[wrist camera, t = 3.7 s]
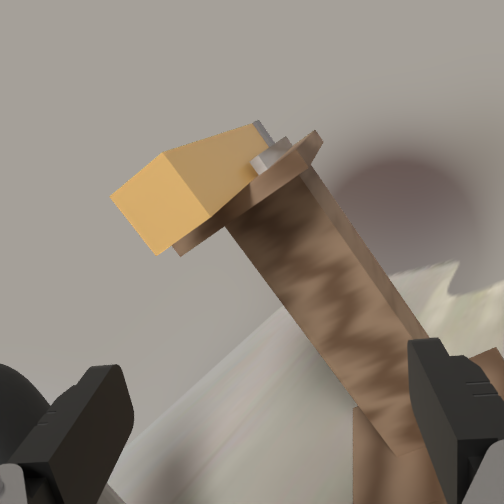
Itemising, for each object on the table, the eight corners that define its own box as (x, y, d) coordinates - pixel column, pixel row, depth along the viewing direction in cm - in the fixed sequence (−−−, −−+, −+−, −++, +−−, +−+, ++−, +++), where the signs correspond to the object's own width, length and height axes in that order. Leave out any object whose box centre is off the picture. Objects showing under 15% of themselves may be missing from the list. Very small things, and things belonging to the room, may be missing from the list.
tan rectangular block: (152, 258, 24) (105, 199, 23) (246, 180, 45) (223, 147, 44) (215, 213, 22) (166, 148, 21) (282, 154, 43) (259, 120, 42)
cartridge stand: (362, 537, 40) (132, 248, 34) (359, 417, 54) (198, 201, 49) (569, 476, 33) (323, 105, 28) (502, 357, 48) (333, 100, 42)
